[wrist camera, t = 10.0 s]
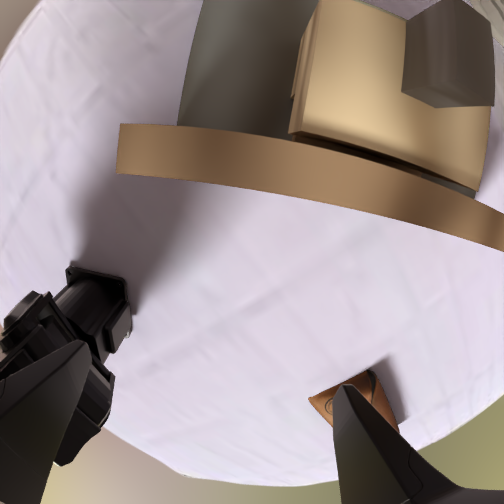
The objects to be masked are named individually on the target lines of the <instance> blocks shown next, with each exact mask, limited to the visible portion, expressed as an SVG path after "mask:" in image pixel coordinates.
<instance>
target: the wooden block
mask: <svg viewBox="0 0 504 504" xmlns="http://www.w3.org/2000/svg"><path fill="white" fill-rule="evenodd" d="M291 99H294V102H293V108H292V113H291V119H290V124H289V130H288V134H291V135H296V136H301V137H305V138H310V139H314V140H318V141H322V142H327V143H331V144H334V145H338V146H342V147H346V148H349V149H353V150H356V151H360V152H363V153H367V154H370V155H373V156H376V157H380V158H383V159H386V160H389V161H392V162H395V163H398V164H400V165H403V166H406V167H409V168H412V169H414V170H417V171H420V172H422V173H425V174H427V175H430V176H433V177H436V178H439V179H442V180H445V181H448V182H452V183H455V184H457V185H460V186H463V187H466V188H469V189H472V190H474V191H477V192H478V190H479V185H480V181H481V176H482V171H483V166H484V160H485V154H486V148H487V141H488V133H489V124H490V112H491V106H494V99H495V65H494V49H493V38H492V30H491V23H490V21H489V20H488V19H486V18H485V17H484V16H483V15H481V14H480V13H479V12H477V11H476V10H475V9H474V8H472V7H471V6H469V5H468V4H467V3H465V2H464V1H462V0H441V1H439V2H437V3H436V4H434V5H432V6H431V7H429V8H427V9H426V10H424V11H422V12H421V13H419V14H418V15H416V16H415V17H413V18H411V19H410V20H406V19H404V18H402V17H399V16H397V15H395V14H393V13H390V12H388V11H386V10H383V9H381V8H378V7H376V6H373V5H371V4H368V3H365V2H363V1H360V0H319V2H318V4H317V7H316V9H315V11H314V13H313V15H312V17H311V19H310V21H309V23H308V26H307V28H306V30H305V32H304V34H303V36H302V39H301V42H300V48H299V54H298V60H297V65H296V71H295V77H294V82H293V88H292V94H291Z"/></svg>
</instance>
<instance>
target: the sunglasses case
mask: <svg viewBox="0 0 504 504" xmlns="http://www.w3.org/2000/svg"><path fill="white" fill-rule="evenodd" d="M342 384H352V385H354V386H355V387H356V389H357V390H358V391H359V392H360V393H361V394H362V395H363V396H364V397H365V398H366V399H367V400H368V401H369V402H370V403H371V404H372V406H373V407H374V408H375V409H376V410H377V411H378V412H379V413H380V414H381V415H382V416H383V417H384V418H385V419H386V420H387V421H388V422H389V423H390V424H391V425H392V427H393V428H394V429H395V430H396V431H397V432H398V433H399V434H400V431H399V428H398V425H397V422H396V420H395V417H394V415H393V412H392V410H391V407H390V405H389V402H388V400H387V398H386V395H385V393H384V390H383V388H382V386H381V383H380V382H379V379H378V378H377V376H376V375H375V373H374V372H372V371H369V370H366V371H364V372H363V373H361V374H359V375H357V376H355V377H353V378H351V379H349V380H347V381H345V382H343V383H340V384H338V385H336V386H334V387H332V388H330V389H327V390H325V391H323V392H321V393H319V394H317V395H315V396H313V397H309V398H308V400H309V401H310V403H311V404H312V405H313V407H314V408H315V409H316V410H317V411H318V412H319V413H320V414H321V415H322V417H323V418H324V419H325V420H326V421H327V422H328V423H329V424H330V425H331V426H332V427H333V414H332V400H333V398H334V396H335V394H336V392H337V391H338V389H339V387H340V386H341V385H342Z"/></svg>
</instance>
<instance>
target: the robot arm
mask: <svg viewBox="0 0 504 504" xmlns="http://www.w3.org/2000/svg"><path fill="white" fill-rule="evenodd" d="M65 272H66V279H67V286H65V287H64V288H63V289H62V290H61V291H60V292H59V293H58V294H57V295H56V296H55V297H54V298H53V296H52V294H51V293H50V291H48V292H47V293H45V294H44V295H42V294H38V293H37V292H35V291H31V292H30V293H29V294H28V295H27V296H25V297H24V298H23V299H22V300H21V301H20V302H19V303H18V304H17V305H16V306H15V307H14V308H13V309H12V310H11V311H10V313H9V314H8V315H7V316H6V317H5V318H4V328H3V330H2V332H1V335H0V504H40V503H41V499H42V496H43V492H44V489H45V486H46V483H47V479H48V476H49V473H50V470H51V468H52V465H53V462H54V463H55V464H56V465H58V466H64V465H66V464H69V463H71V462H72V461H73V460H74V458H75V457H76V455H77V454H78V452H79V451H80V450H81V448H82V447H83V446H84V444H85V443H86V442H87V441H89V440H90V439H91V438H92V437H93V436H95V435H96V434H97V433H99V432H100V431H101V427H102V426H103V425H104V424H105V422H106V421H107V419H108V417H109V415H110V411H111V404H112V396H113V389H114V382H115V376H114V374H113V373H112V372H109V370H108V369H107V368H106V367H105V366H104V365H103V364H104V363H105V361H106V359H107V357H108V356H109V354H110V353H112V354H114V353H116V351H117V350H118V348H119V346H120V344H121V343H122V341H123V339H124V338H129V336H130V334H131V331H130V327H131V315H130V304H129V302H128V301H127V288H126V282H125V280H124V279H123V278H120V277H115V276H111V275H106V274H102V273H97V272H93V271H88V270H84V269H80V268H76V267H72V266H69V267H68V268H67V269H66V270H65ZM70 272H71V273H70ZM119 283H121V284H122V285H120V284H119ZM332 414H333V440H334V448H335V455H336V462H337V469H338V477H339V485H340V493H341V502H342V504H504V490H481V489H470V488H464V487H461V486H458V485H456V484H455V483H453V482H452V481H451V480H449V479H448V478H447V477H445V476H444V475H443V474H442V473H440V472H439V471H438V470H436V469H435V468H434V467H433V466H432V465H431V464H429V463H428V462H427V461H426V460H425V459H424V458H422V456H421V455H419V453H418V452H417V451H416V450H415V449H414V448H413V447H411V445H410V444H409V443H408V442H407V441H406V440H405V439H404V438H403V437H402V436H401V435H400V434H399V433H398V432H397V431H396V430H395V429H394V428H393V427H392V425H391V424H390V423H389V422H388V421H387V420H386V419H385V418H384V417H383V416H382V415H381V414H380V413H379V412H378V411H377V410H376V409H375V408H374V407H373V406H372V404H371V403H370V402H369V401H368V400H367V399H366V398H365V397H364V396H363V395H362V394H361V393H360V392H359V391H358V390H357V389H356V387H355V386H354V385H352V384H342V385H341V386H340V387H339V389H338V391H337V392H336V394H335V396H334V398H333V400H332Z"/></svg>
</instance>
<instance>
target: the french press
mask: <svg viewBox="0 0 504 504" xmlns="http://www.w3.org/2000/svg"><path fill="white" fill-rule="evenodd" d="M470 2H471V4H472V6H473V8H474V9H475V10H476V11H477V12H479V13H480V14H481V15H483V16H484V17H485V18H486V19H488V20H489V21H490V23H491V30H492V36H493V37H494V38H495V39H496V40H497V41H498V42H499V43H500V44H501V45H502V46H503V47H504V0H470Z"/></svg>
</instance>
